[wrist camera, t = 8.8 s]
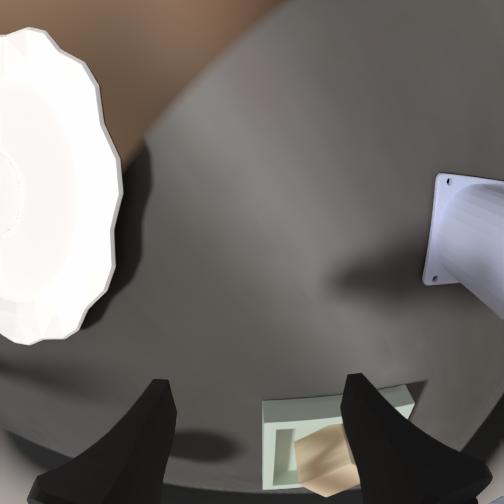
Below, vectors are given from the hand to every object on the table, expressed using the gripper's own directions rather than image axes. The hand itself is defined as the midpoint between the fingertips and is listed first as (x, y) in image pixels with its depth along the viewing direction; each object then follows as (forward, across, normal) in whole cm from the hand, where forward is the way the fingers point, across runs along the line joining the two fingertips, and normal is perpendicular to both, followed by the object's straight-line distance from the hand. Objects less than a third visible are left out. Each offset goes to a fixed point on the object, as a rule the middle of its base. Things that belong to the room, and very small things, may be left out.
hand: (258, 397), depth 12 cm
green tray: (+9, -7, +17) cm, 21 cm away
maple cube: (+9, -7, +17) cm, 20 cm away
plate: (+10, +20, -8) cm, 24 cm away
